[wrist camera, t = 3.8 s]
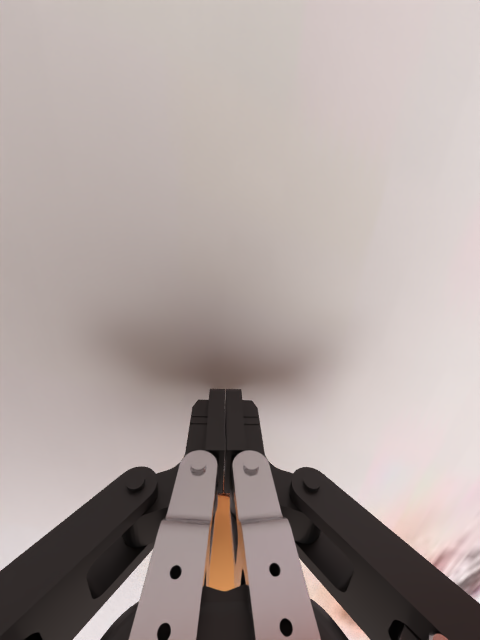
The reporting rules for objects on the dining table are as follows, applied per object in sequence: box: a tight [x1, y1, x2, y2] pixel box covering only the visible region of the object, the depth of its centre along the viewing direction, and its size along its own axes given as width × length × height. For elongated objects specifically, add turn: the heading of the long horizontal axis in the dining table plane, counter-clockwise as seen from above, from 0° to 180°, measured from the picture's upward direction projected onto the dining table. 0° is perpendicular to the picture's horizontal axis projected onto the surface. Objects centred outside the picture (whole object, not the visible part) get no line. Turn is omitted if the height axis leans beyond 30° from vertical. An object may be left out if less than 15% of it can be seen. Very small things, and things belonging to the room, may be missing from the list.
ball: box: [209, 495, 234, 591], centre depth 16 cm, size 6×6×6 cm
